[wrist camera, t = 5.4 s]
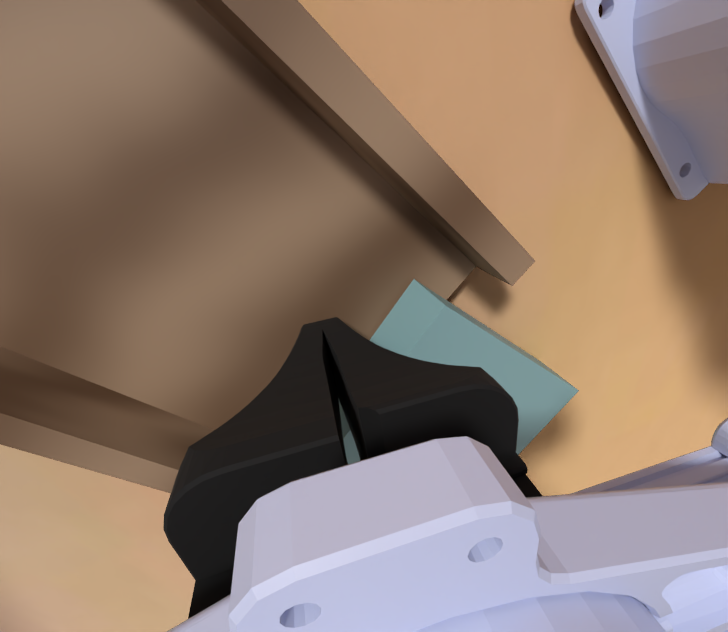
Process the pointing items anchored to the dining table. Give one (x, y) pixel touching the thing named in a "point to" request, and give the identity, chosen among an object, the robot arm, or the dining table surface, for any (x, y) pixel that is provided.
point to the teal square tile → (468, 358)
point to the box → (198, 218)
